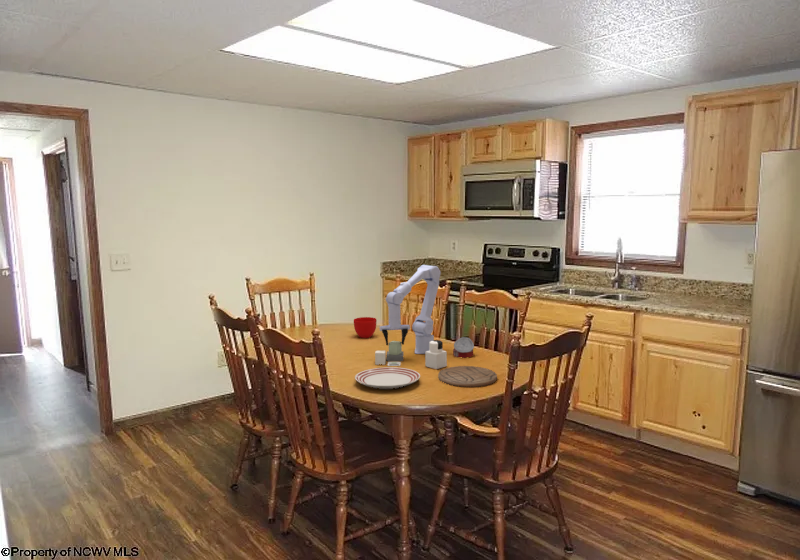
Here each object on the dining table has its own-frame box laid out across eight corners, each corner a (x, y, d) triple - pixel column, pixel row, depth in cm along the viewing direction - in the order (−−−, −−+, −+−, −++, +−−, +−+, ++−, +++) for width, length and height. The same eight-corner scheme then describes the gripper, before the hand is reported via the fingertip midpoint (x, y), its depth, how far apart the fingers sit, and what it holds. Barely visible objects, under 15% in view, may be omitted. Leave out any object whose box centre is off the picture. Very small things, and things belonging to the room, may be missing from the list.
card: (400, 362, 262) (400, 361, 262) (400, 365, 256) (400, 365, 256) (388, 362, 262) (388, 361, 262) (387, 365, 256) (387, 365, 256)
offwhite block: (385, 362, 263) (385, 350, 262) (385, 364, 258) (384, 353, 257) (376, 362, 263) (375, 350, 262) (375, 364, 258) (375, 353, 258)
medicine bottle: (435, 363, 260) (435, 338, 258) (447, 366, 255) (447, 340, 253) (425, 366, 255) (425, 341, 253) (436, 369, 250) (436, 343, 248)
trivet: (474, 367, 254) (474, 363, 254) (509, 382, 232) (509, 377, 232) (427, 375, 243) (427, 371, 242) (458, 391, 221) (458, 387, 220)
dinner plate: (347, 377, 240) (346, 370, 240) (405, 370, 250) (405, 362, 250) (367, 397, 215) (366, 389, 214) (430, 388, 225) (430, 380, 225)
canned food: (473, 363, 275) (482, 347, 271) (460, 365, 268) (469, 349, 264) (458, 349, 281) (466, 333, 278) (445, 351, 274) (453, 335, 270)
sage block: (401, 352, 269) (401, 341, 268) (396, 355, 265) (396, 343, 264) (393, 351, 271) (393, 340, 270) (388, 354, 267) (388, 342, 266)
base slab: (403, 357, 272) (403, 351, 272) (403, 361, 264) (403, 355, 264) (387, 357, 272) (387, 351, 272) (386, 361, 264) (386, 355, 264)
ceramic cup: (381, 333, 322) (380, 316, 321) (373, 339, 306) (372, 322, 304) (359, 332, 325) (359, 315, 324) (350, 338, 309) (350, 321, 307)
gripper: (407, 314, 270) (408, 341, 272) (378, 316, 268) (379, 343, 270) (410, 317, 264) (410, 345, 265) (380, 318, 261) (380, 346, 263)
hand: (394, 344), depth 267 cm, fingers open, 7 cm apart
